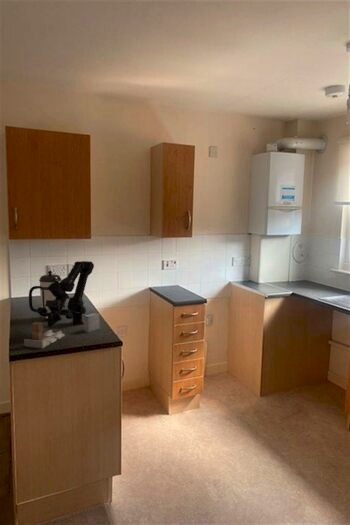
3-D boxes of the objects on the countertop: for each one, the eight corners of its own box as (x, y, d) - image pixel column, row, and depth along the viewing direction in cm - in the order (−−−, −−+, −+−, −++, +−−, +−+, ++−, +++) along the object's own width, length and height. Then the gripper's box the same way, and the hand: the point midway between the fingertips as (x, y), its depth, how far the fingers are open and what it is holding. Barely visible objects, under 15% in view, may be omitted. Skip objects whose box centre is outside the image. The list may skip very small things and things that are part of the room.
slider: (35, 340, 190) (34, 322, 188) (43, 341, 188) (42, 322, 187) (30, 343, 186) (29, 324, 185) (38, 344, 185) (37, 325, 183)
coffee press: (51, 314, 245) (50, 268, 241) (69, 317, 237) (68, 270, 233) (29, 320, 230) (26, 271, 226) (47, 324, 222) (45, 273, 218)
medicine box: (95, 327, 217) (94, 312, 216) (100, 329, 214) (99, 314, 213) (83, 330, 211) (83, 315, 210) (88, 332, 208) (88, 317, 207)
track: (48, 334, 205) (47, 327, 204) (64, 335, 202) (64, 329, 202) (24, 346, 185) (23, 339, 185) (42, 348, 183) (41, 341, 182)
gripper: (37, 292, 201) (25, 318, 192) (69, 294, 197) (58, 321, 188) (47, 303, 210) (35, 328, 201) (77, 305, 205) (67, 331, 196)
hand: (48, 327), depth 196 cm, fingers closed
